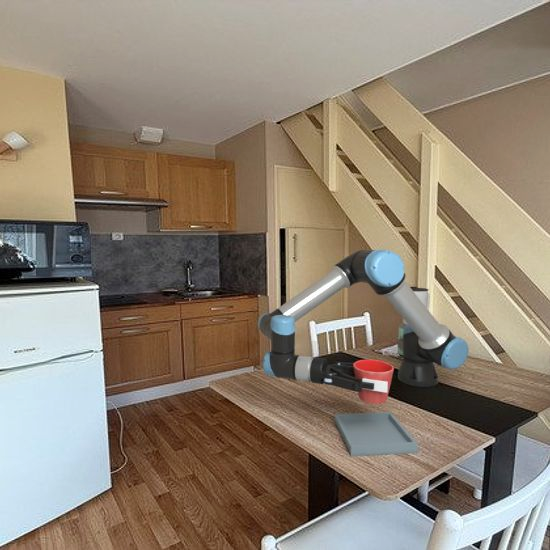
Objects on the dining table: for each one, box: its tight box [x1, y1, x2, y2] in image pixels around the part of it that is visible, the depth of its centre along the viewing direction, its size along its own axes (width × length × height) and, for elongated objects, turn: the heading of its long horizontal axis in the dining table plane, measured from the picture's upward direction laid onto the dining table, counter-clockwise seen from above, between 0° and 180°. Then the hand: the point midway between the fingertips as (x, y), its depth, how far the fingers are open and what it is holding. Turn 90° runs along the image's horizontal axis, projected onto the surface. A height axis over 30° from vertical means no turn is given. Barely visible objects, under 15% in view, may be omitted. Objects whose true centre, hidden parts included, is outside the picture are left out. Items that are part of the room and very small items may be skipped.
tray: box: [334, 411, 419, 457], centre depth 100 cm, size 18×18×2 cm
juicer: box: [397, 286, 431, 358], centre depth 171 cm, size 19×13×35 cm
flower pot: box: [353, 359, 395, 405], centre depth 99 cm, size 11×11×10 cm
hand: (389, 380), depth 97 cm, fingers closed on flower pot, 10 cm apart
